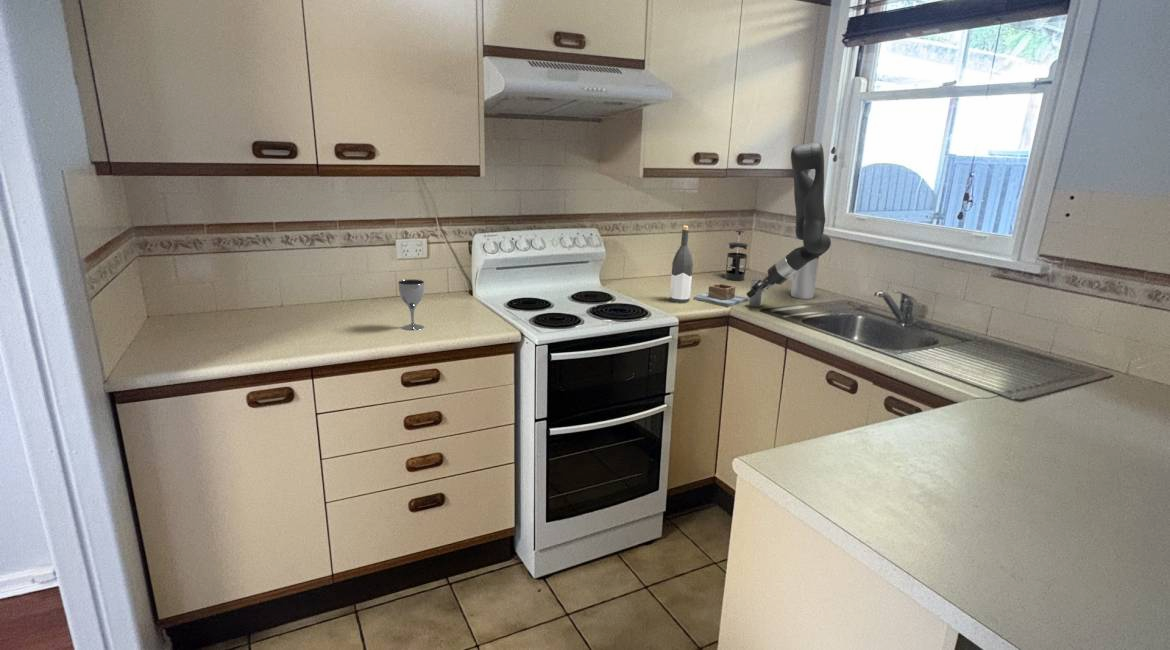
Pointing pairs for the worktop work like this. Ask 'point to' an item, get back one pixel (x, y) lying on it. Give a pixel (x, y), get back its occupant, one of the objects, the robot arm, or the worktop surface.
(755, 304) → the grey cylinder
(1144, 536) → the worktop surface
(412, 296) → the wine glass
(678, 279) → the wine bottle
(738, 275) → the french press
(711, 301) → the socket
